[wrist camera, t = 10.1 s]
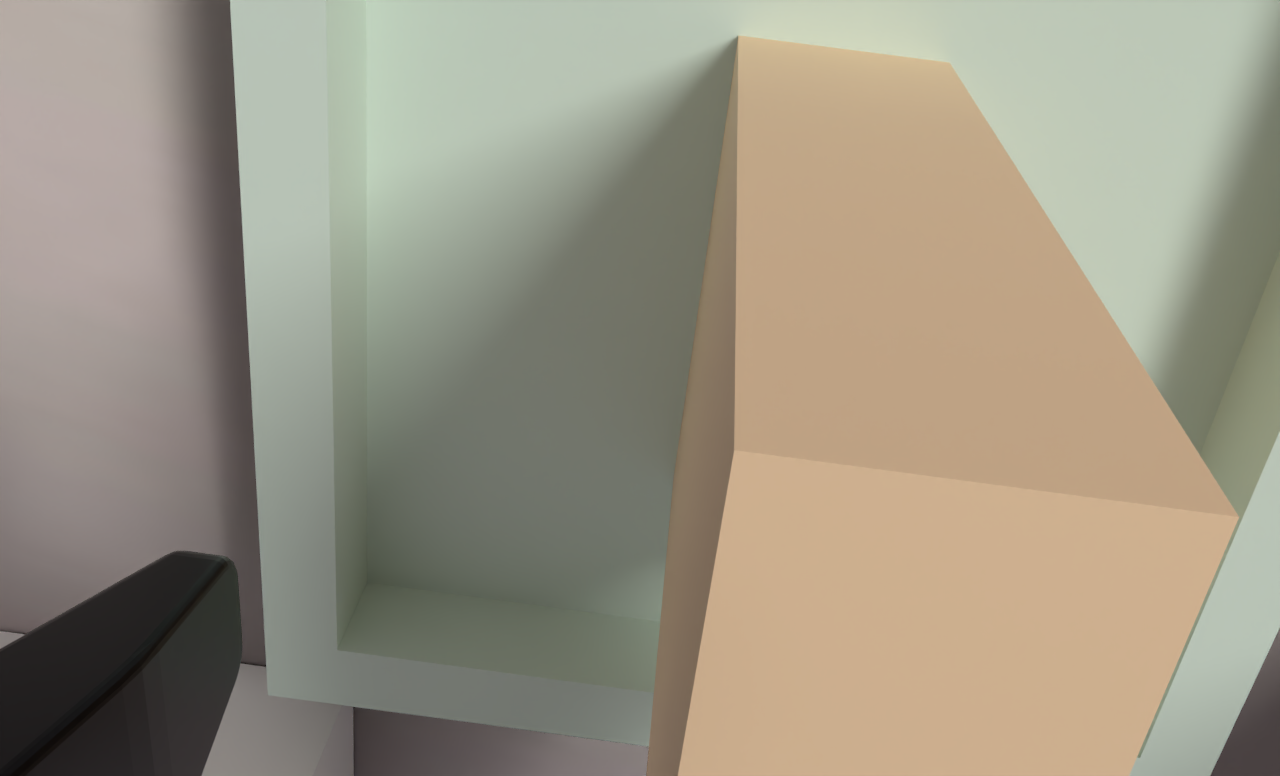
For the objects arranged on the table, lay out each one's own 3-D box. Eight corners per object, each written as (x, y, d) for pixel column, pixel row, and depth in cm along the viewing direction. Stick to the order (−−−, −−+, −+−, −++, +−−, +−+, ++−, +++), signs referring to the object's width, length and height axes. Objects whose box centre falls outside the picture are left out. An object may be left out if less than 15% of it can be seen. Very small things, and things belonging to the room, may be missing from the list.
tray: (1145, 712, 19) (1189, 819, 17) (314, 600, 19) (267, 695, 17) (1537, -227, 12) (1676, -220, 10) (287, -381, 13) (208, -401, 11)
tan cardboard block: (846, 500, 16) (944, 1207, 9) (673, 477, 16) (610, 1159, 9) (949, 63, 14) (1240, 517, 6) (738, 34, 14) (732, 451, 6)
